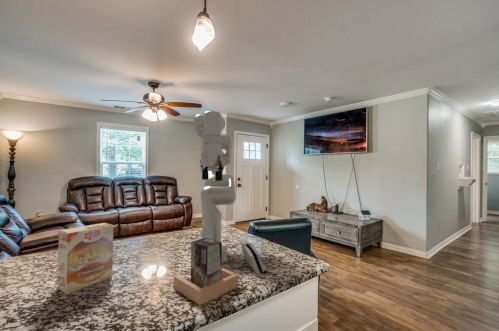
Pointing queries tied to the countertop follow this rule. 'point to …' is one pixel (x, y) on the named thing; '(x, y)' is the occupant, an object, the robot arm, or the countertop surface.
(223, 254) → the light grey cube
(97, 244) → the coffeecake box
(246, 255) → the grey game console
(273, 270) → the countertop surface
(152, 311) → the countertop surface
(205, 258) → the coffee box
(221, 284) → the bracket
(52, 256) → the countertop surface
